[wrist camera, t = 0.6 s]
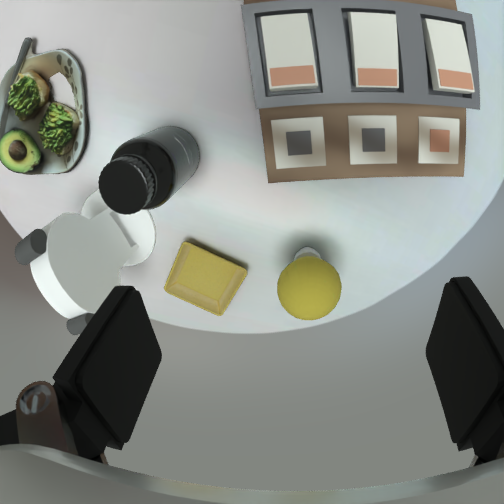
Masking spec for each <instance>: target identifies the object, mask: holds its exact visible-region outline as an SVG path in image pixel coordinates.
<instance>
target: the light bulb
mask: <svg viewBox="0 0 504 504" xmlns="http://www.w3.org/2000/svg"><path fill="white" fill-rule="evenodd" d="M341 288H342V287H341V281H340V277H339V274H338V272H337V271H336V270H335V268H334V267H333V266H332V265H330V264H329V263H327V262H326V261H324V260H322V259H321V257H320V255H319V253H318V252H317V251H315V250H314V249H313V248H311V247H304V248H302V249H300V250H299V252H298V253H297V254H296V255H295V257H294V261H293V262H292V263H291V264H289V265H288V266H287V267H286V268H285V269H284V270H283V271H282V272H281V275H280V277H279V279H278V286H277V293H278V297H279V300H280V302H281V305H282V306H283V307H284V309H285V310H286V311H287V312H288V313H289V314H291V315H292V316H294V317H296V318H299V319H302V320H316V319H320V318H322V317H324V316H326V315H328V314H329V313H330V312H331V311H332V310H333V309H334V308H335V306H336V305H337V303H338V301H339V299H340V295H341Z"/></svg>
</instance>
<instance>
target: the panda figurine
mask: <svg viewBox="0 0 504 504" xmlns="http://www.w3.org/2000/svg"><path fill="white" fill-rule="evenodd" d="M155 241H156V229H155V224H154V221H153V218H152V216H151V214H150V212H149V210H140V211H139V212H136V213H135V214H131V215H128V214H127V215H124V214H119V213H117V212H115V211H114V210H111V209H110V207H108V206H107V205H106V203H104V201H103V199H102V198H101V194H100V190H97V191H95V192H94V193H93V194H91V195H90V196H89V197H88V198H87V200H86V201H85V203H84V205H83V207H82V211H81V215H80V214H76V213H63V214H61V215H60V216H59V217H57V218H56V219H54V220H53V221H52V222H50V223H49V224H48V225H46V226H45V227H44V228H42V229H35V230H34V231H33V232H31V233H30V234H29V235H28V236H26V237H25V238H24V239H23V240H21V241H20V242H19V243H18V244H17V246H16V248H15V257H16V259H17V261H18V262H19V263H20V264H22V265H27V264H29V263H30V264H31V271H32V275H33V278H34V280H35V282H36V284H37V286H38V288H39V290H40V291H41V293H42V294H43V296H44V297H45V299H46V300H47V301H48V302H49V303H50V305H51V306H52V307H53V308H54V309H55V310H56V311H57V312H58V313H59V314H61V315H62V316H64V317H66V318H69V319H70V320H68V321H67V329H68V330H69V332H70V333H71V334H73V335H78V334H81V333H82V331H83V330H84V329H85V327H86V326H87V324H88V323H89V321H90V320H91V318H92V317H93V316H94V314H95V313H96V311H97V310H98V309H99V307H100V306H101V304H102V303H103V302H104V300H105V299H106V297H107V296H108V295H109V293H110V292H111V291H112V289H113V288H114V287H115V286H120V273H119V270H120V269H121V268H122V266H134V265H137V264H139V263H141V262H143V261H144V260H145V259H147V257H148V256H149V255H150V254H151V252H152V250H153V248H154V245H155Z"/></svg>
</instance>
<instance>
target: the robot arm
mask: <svg viewBox="0 0 504 504" xmlns="http://www.w3.org/2000/svg"><path fill="white" fill-rule="evenodd" d="M426 357H427V360H428V363H429V366H430V369H431V372H432V375H433V378H434V381H435V384H436V387H437V391H438V394H439V397H440V400H441V404H442V407H443V410H444V414H445V417H446V421H447V424H448V428H449V431H450V435H451V439H452V441H453V443H457V446H458V450H459V451H462V450H466V449H469V448H473V449H474V452H475V456H474V458H473V460H472V462H471V464H470V466H469V468H466V469H463V470H459V471H455V472H451V473H447V474H442V475H438V476H434V477H429V478H424V479H419V480H414V481H409V482H403V483H397V484H390V485H383V486H375V487H367V488H357V489H344V490H328V491H262V490H245V489H233V488H223V487H214V486H206V485H199V484H192V483H186V482H180V481H174V480H169V479H164V478H159V477H154V476H149V475H145V474H141V473H137V472H132V471H128V470H125V469H121V468H117V467H113V466H110V465H109V464H108V462H107V459H106V456H105V454H104V450H105V447H106V446H107V447H111V448H114V449H118V450H122V447H123V445H124V443H127V442H128V441H129V439H130V437H131V435H132V432H133V429H134V427H135V424H136V421H137V419H138V417H139V414H140V411H141V409H142V406H143V404H144V401H145V399H146V396H147V394H148V391H149V389H150V386H151V384H152V381H153V379H154V377H155V374H156V371H157V369H158V367H159V364H160V362H161V358H162V353H161V349H160V347H159V344H158V342H157V339H156V336H155V333H154V331H153V328H152V326H151V323H150V320H149V317H148V314H147V311H146V309H145V306H144V303H143V300H142V297H141V294H140V292H139V291H137V290H135V288H134V287H133V286H115V287H114V288H113V289H112V291H111V292H110V293H109V295H108V296H107V297H106V299H105V300H104V302H103V303H102V304H101V306H100V307H99V309H98V310H97V311H96V313H95V314H94V316H93V317H92V318H91V320H90V321H89V323H88V324H87V326H86V327H85V329H84V330H83V331H82V333H81V334H80V336H79V337H78V339H77V341H76V342H75V344H74V345H73V346H72V348H71V349H70V351H69V353H68V354H67V355H66V357H65V359H64V360H63V362H62V363H61V365H60V366H59V368H58V369H57V371H56V373H55V374H54V376H53V379H54V380H55V383H54V385H53V386H52V385H51V384H50V383H48V382H46V381H37V382H33V383H31V384H29V385H28V386H26V387H25V388H24V389H23V390H22V391H21V392H20V394H19V395H18V398H17V400H16V409H15V410H13V411H11V412H9V413H6V414H4V415H2V416H0V504H504V329H503V327H502V326H501V324H500V322H499V321H498V319H497V318H496V316H495V314H494V313H493V311H492V310H491V308H490V307H489V305H488V303H487V302H486V300H485V299H484V297H483V296H482V294H481V293H480V291H479V290H478V289H477V287H476V286H475V284H474V283H473V281H472V280H471V279H470V278H469V277H453V278H451V279H450V281H449V283H446V284H445V286H444V289H443V294H442V297H441V301H440V304H439V308H438V311H437V315H436V318H435V321H434V325H433V328H432V331H431V334H430V337H429V340H428V343H427V346H426Z"/></svg>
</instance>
